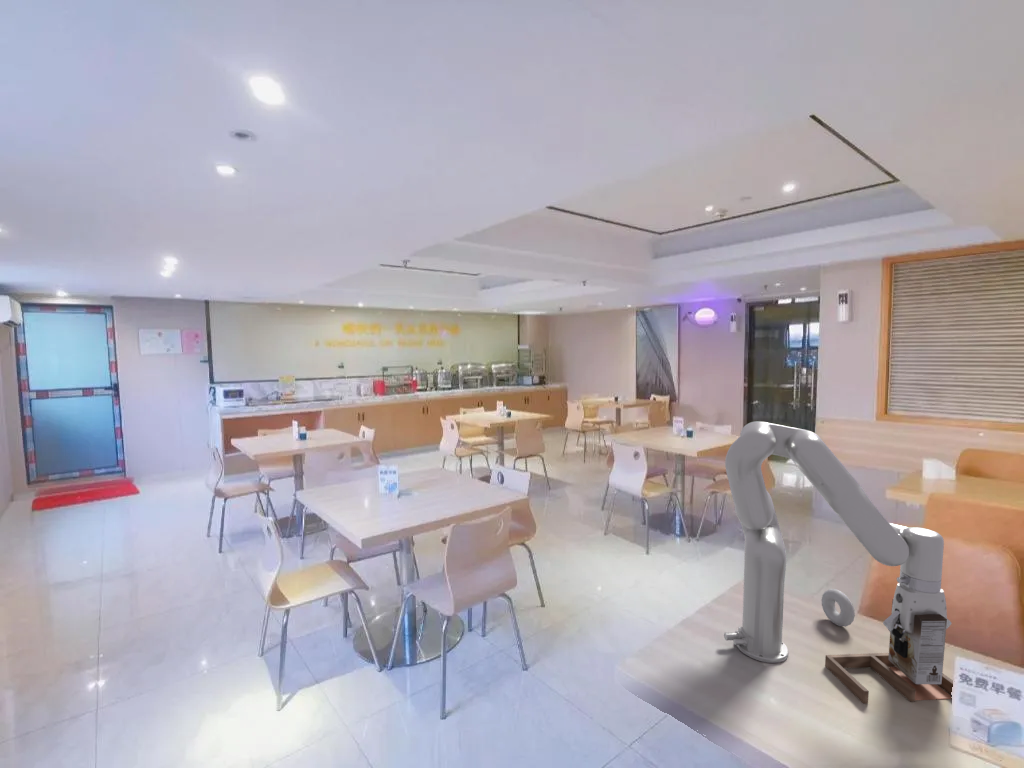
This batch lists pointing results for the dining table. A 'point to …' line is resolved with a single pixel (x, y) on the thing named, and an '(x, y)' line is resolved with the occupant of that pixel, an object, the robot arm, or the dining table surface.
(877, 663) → the rack
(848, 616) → the donut
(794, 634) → the dining table surface
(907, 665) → the coffee box
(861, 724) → the dining table surface
